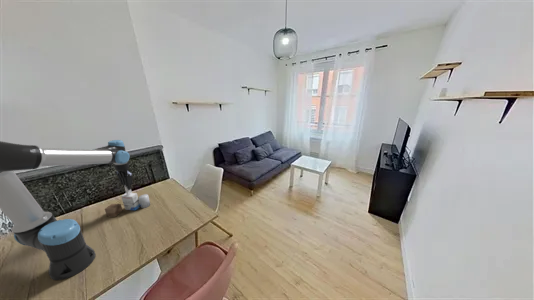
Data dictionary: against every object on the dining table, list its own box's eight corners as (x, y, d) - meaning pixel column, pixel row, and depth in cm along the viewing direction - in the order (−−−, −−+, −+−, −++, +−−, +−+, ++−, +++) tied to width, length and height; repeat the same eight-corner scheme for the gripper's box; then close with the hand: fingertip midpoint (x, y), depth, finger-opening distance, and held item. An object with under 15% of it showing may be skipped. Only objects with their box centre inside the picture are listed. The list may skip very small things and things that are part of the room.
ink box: (140, 206, 127) (137, 192, 124) (135, 210, 123) (131, 196, 119) (130, 205, 128) (126, 192, 124) (124, 209, 123) (120, 195, 120)
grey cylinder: (145, 208, 125) (142, 199, 122) (138, 207, 126) (136, 198, 124) (152, 204, 130) (150, 195, 128) (146, 202, 132) (143, 193, 129)
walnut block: (115, 216, 117) (113, 209, 115) (106, 216, 117) (104, 209, 115) (122, 210, 122) (120, 203, 120) (114, 210, 122) (112, 203, 120)
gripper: (134, 162, 116) (141, 192, 123) (119, 159, 119) (127, 189, 126) (122, 166, 109) (130, 197, 116) (107, 163, 112) (116, 194, 120)
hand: (129, 193), depth 121 cm, fingers closed
